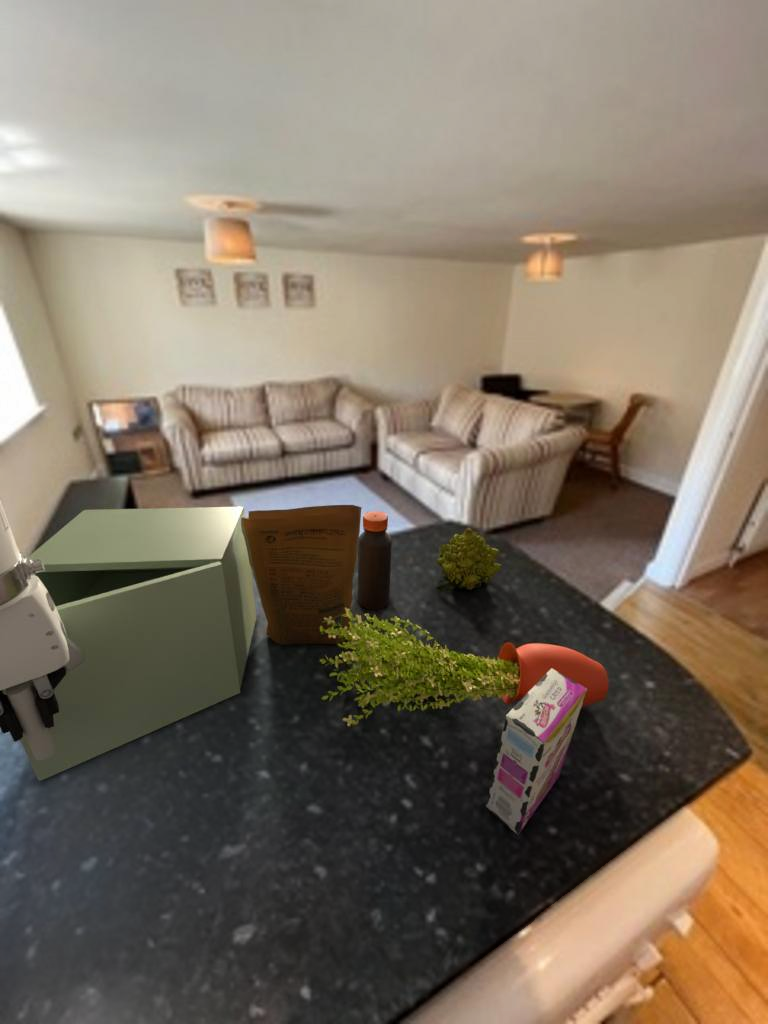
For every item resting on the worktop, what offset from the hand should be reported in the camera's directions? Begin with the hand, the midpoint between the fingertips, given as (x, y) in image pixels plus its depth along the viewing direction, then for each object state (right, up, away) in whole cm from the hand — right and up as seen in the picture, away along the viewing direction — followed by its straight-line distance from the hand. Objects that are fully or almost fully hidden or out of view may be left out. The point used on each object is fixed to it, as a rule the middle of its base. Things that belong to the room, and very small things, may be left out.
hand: (34, 724), depth 49 cm
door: (+6, -10, +13) cm, 18 cm away
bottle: (+36, +4, +46) cm, 59 cm away
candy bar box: (+57, -14, +9) cm, 59 cm away
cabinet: (+1, -2, +30) cm, 30 cm away
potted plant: (+51, -6, +24) cm, 57 cm away
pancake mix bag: (+25, -1, +35) cm, 43 cm away
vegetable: (+57, +7, +54) cm, 79 cm away
